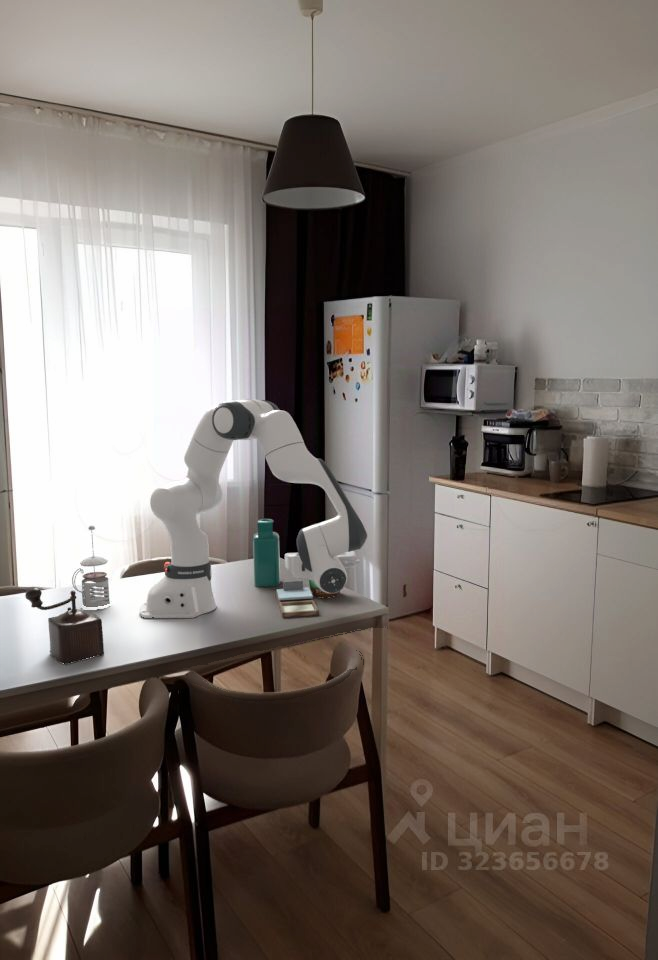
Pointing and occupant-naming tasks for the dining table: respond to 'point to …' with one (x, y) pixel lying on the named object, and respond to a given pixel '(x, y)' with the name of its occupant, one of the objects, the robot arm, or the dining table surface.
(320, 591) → the food container
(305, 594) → the cover
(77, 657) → the manual coffee grinder
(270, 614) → the dining table surface
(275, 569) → the green bottle
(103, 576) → the french press
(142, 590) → the dining table surface
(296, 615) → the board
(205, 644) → the dining table surface
